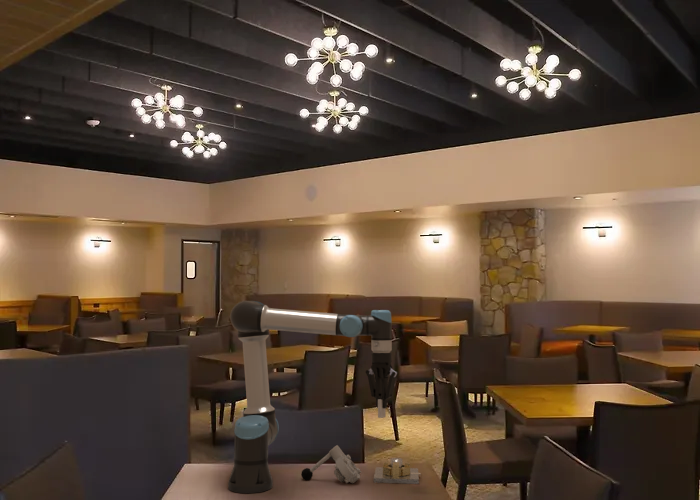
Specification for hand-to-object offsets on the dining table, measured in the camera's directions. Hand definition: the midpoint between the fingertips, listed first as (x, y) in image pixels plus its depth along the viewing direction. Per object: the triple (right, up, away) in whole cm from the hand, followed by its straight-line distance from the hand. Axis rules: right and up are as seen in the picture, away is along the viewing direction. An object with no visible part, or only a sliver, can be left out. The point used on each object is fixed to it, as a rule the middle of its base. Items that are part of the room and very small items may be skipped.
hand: (381, 417), depth 222 cm
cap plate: (+6, -23, +2) cm, 24 cm away
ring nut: (+5, -21, 0) cm, 22 cm away
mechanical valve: (-19, -22, -3) cm, 30 cm away
